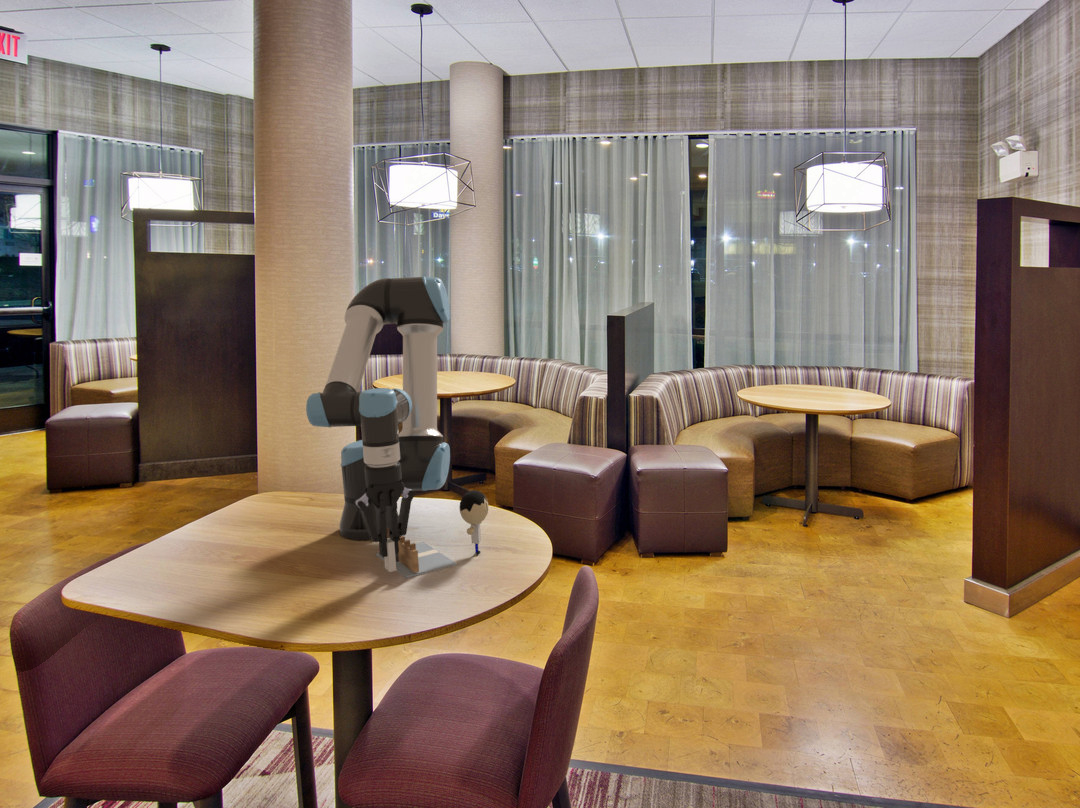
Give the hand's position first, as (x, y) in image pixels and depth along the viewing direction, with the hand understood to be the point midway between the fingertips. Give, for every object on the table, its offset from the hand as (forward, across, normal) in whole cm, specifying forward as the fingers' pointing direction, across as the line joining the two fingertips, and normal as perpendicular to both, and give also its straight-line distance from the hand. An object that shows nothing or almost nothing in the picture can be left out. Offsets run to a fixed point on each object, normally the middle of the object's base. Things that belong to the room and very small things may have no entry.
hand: (390, 569), depth 165 cm
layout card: (+2, +8, +6) cm, 10 cm away
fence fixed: (+2, +5, +11) cm, 12 cm away
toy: (+2, +21, 0) cm, 21 cm away
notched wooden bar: (+1, +5, +2) cm, 5 cm away
